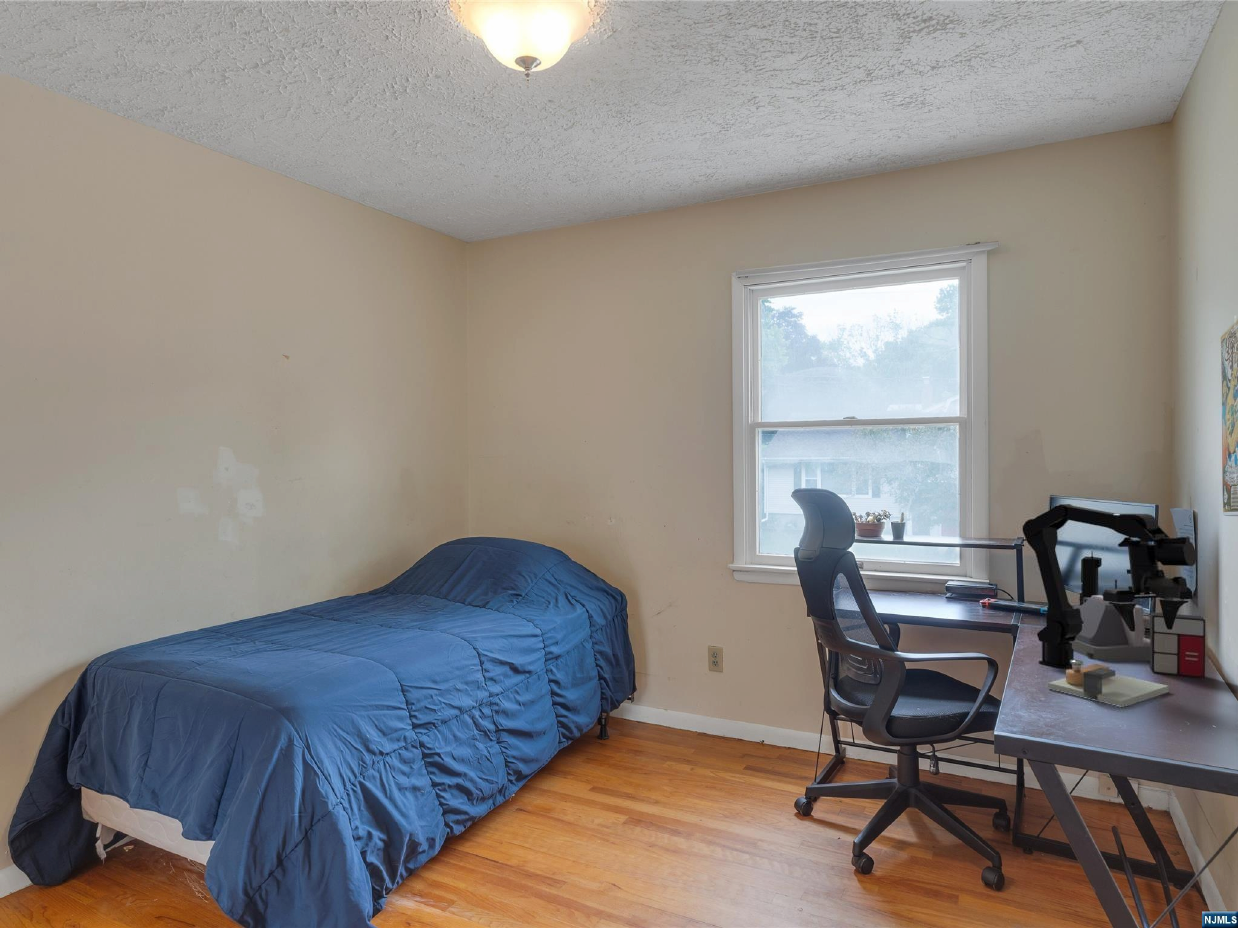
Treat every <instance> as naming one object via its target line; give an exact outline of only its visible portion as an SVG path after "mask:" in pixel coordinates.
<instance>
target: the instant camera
mask: <svg viewBox="0 0 1238 928" xmlns="http://www.w3.org/2000/svg"><path fill="white" fill-rule="evenodd" d="M1073 608H1074V609H1076V608H1079V609H1080V612H1081V618H1082V620H1083V622H1084V624H1082V631H1081V632H1080V633H1079V634H1078V635H1077V636H1076V639H1075V641H1071V642H1070V643H1072V649H1073V650H1074V652H1075V653H1078V654H1080V655H1082V656H1085V657H1088V658H1090V659H1092V660H1096V661H1101V662H1141V661H1142V662H1146V661H1147V662H1150V640H1149V639H1150V638H1148V639H1146V638H1145V637H1144V638H1143V626H1144V608H1143V607H1142V606H1141V605H1137V604H1136V606H1135V608H1134V610H1133V611H1134V620H1135V632H1132V631H1130V630H1129V628H1128V626H1127V625H1126V623H1125V622H1124V620H1123V618H1122V617H1121V615H1120V614H1119V613H1118V611H1117V610H1116V609H1115V607H1114V606H1113V605H1112V604H1109V601H1103V595H1102V594H1101V595H1099V594H1098V595H1093V596H1091V598H1083V605H1080V604H1079V605H1075V606H1073Z"/></svg>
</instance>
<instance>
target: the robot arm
mask: <svg viewBox="0 0 1238 928" xmlns="http://www.w3.org/2000/svg"><path fill="white" fill-rule="evenodd" d="M1069 521H1073V522H1076V523H1081V524H1087V525H1093V526H1098V527H1103V528H1107V529H1108V530H1112V531H1114V532H1116V534H1120V535H1123V536H1126V537H1124V538H1123V540H1121V542H1119V543H1118V544H1117V547H1118V548H1127V550H1128V561H1129V562H1128V563H1129V569H1126V574H1128V575H1130V580H1131V585H1129V586H1128V589H1123V588H1117V589H1115V588H1112V589H1111V588H1109V589H1104V590H1103V592H1102V596H1103V601H1109V604H1112V605H1113V606H1114V607H1115V609H1116V610H1117V611H1118V613H1119V614H1120V615H1121V617H1122V618H1123V620H1124V622H1125V623H1126V625H1127V626H1128V628H1129V630H1130V631H1132V632H1135V620H1134V611H1133V610H1134V608H1135V606H1136V605H1137V603H1135V602H1134V600H1137V599H1156V598H1159V604H1160V609H1161V613H1163V617H1164V621H1165V624H1166V627H1167V629H1169V630H1172V628H1173V625H1174V621H1175V618H1176V615H1177V614H1178V612H1179V610H1180V608H1181V607H1182V606H1183V605H1185V604H1188V603H1189V600H1194V593H1193V590H1192V589H1191V588H1190V587H1189V586H1188V583H1187V579H1186V577H1183V576H1182V575H1181V576H1174V577H1173V578H1172V577H1170V578H1168V577H1166V575H1165V571H1164V569H1160V568H1159V567H1160V566H1159V563H1160V564H1161V565H1162V566H1164V567H1167V566H1168V567H1171V566H1172V567H1193V566H1195V564H1196V563H1197V558H1198V555H1197V553H1198V551H1197V550H1196V549H1195V546H1194V544H1193V543H1192V542H1191V538H1190V536H1178V537H1170V536H1169V535H1168V534H1167V533H1166V532H1165V531H1164V530H1163V529H1162V528H1161V527H1160V526H1159V524H1158V521H1157V519H1156V518H1155V516H1153V515H1152V514H1149V513H1115V512H1110V511H1105V510H1100V509H1099V510H1098V509H1093V508H1087V507H1082V506H1076V505H1073V504H1071V503H1065V504H1064V503H1063V504H1062V503H1061V504H1056V505H1055V506H1054V507H1052V508H1050V509H1049V510H1047V511H1045V512H1043V513H1041V514H1039V515H1037V516H1036V517H1035V518H1030V519H1027V520H1026V521H1025V522H1024V524H1023V525H1022V528H1021V529H1022V534H1023V536H1024V538H1025V541H1026V543H1027V545H1028V546H1030V548H1031V549H1032V550H1033V552H1034V553H1035V556H1036V561H1037V565H1038V568H1039V572H1040V577H1041V581H1042V586H1043V589H1044V593H1045V597H1046V600H1047V609H1046V614H1045V624H1046V625H1045V626H1044V627H1043V628H1041V629H1040V630H1039V631H1038V632H1037V633H1036V636H1037V638H1038V641H1039V642H1040V643H1041V660H1039V661H1038V663H1039V664H1042V665H1046V666H1051V667H1055V668H1061V669H1065V668H1070V667H1072V663H1070V660H1075V655H1074V652H1075V651H1074V650H1073V649H1072V643H1070V642H1071V641H1075V639H1076V636H1077V635H1078V634H1079V633H1080V632H1081V631H1082V624H1084V622H1083V620H1082V618H1081V612H1080V609H1079V608H1076V609H1074V606H1072V605H1071V604H1070V601H1069V598H1068V595H1067V594H1068V593H1067V591H1066V588H1065V587H1066V586H1065V583H1064V579H1063V576H1062V575H1063V574H1062V572H1061V568H1060V564H1059V560H1058V556H1057V552H1056V547H1057V543H1058V540H1059V539H1058V531H1059V530H1060V529H1061V528H1063V527H1064V526H1065V525H1066V524H1067V523H1068V522H1069ZM1153 542H1154V543H1153Z"/></svg>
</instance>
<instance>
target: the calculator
mask: <svg viewBox="0 0 1238 928" xmlns="http://www.w3.org/2000/svg"><path fill="white" fill-rule="evenodd" d="M1149 632H1150V633H1149V634H1150V635H1149V639H1150V661H1149V669H1150V670H1151V672H1152V673H1153V674H1154V673H1155V674H1162V675H1172V676H1173V675H1174V676H1181V677H1191V678H1201V679H1204V678H1206V677H1205V676H1206V675H1205V674H1206V620H1205V618H1204V617H1203V616H1201V615H1192V614H1190V615H1189V614H1178V613H1177V615H1176V618H1175V621H1174V625H1173V628H1172V630H1169V629H1167V627H1166V624H1165V621H1164V617H1163V613H1162V612H1154V611H1153V612H1150V613H1149Z"/></svg>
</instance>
